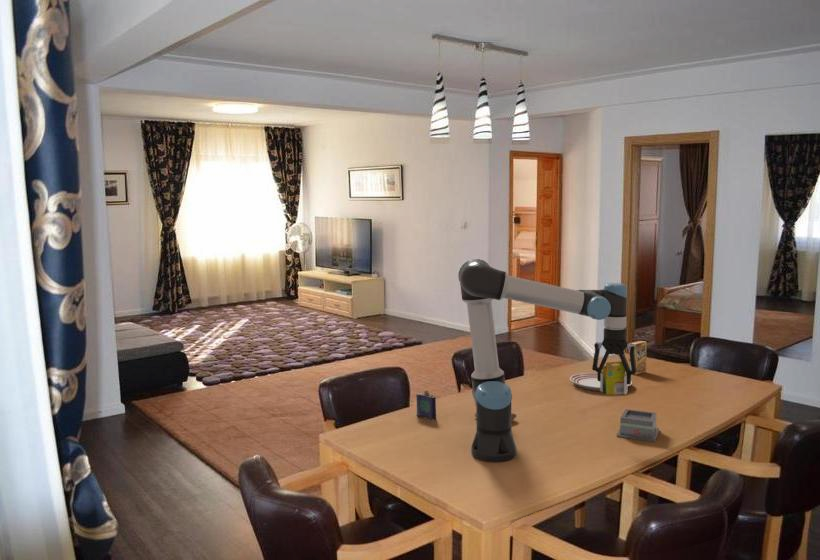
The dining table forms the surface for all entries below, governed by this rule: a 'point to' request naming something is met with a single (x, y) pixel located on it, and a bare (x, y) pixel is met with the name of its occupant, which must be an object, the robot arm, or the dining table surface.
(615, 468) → the dining table surface
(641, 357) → the candy box
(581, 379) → the dinner plate
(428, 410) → the flask
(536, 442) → the dining table surface
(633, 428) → the stand
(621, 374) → the crayon box
